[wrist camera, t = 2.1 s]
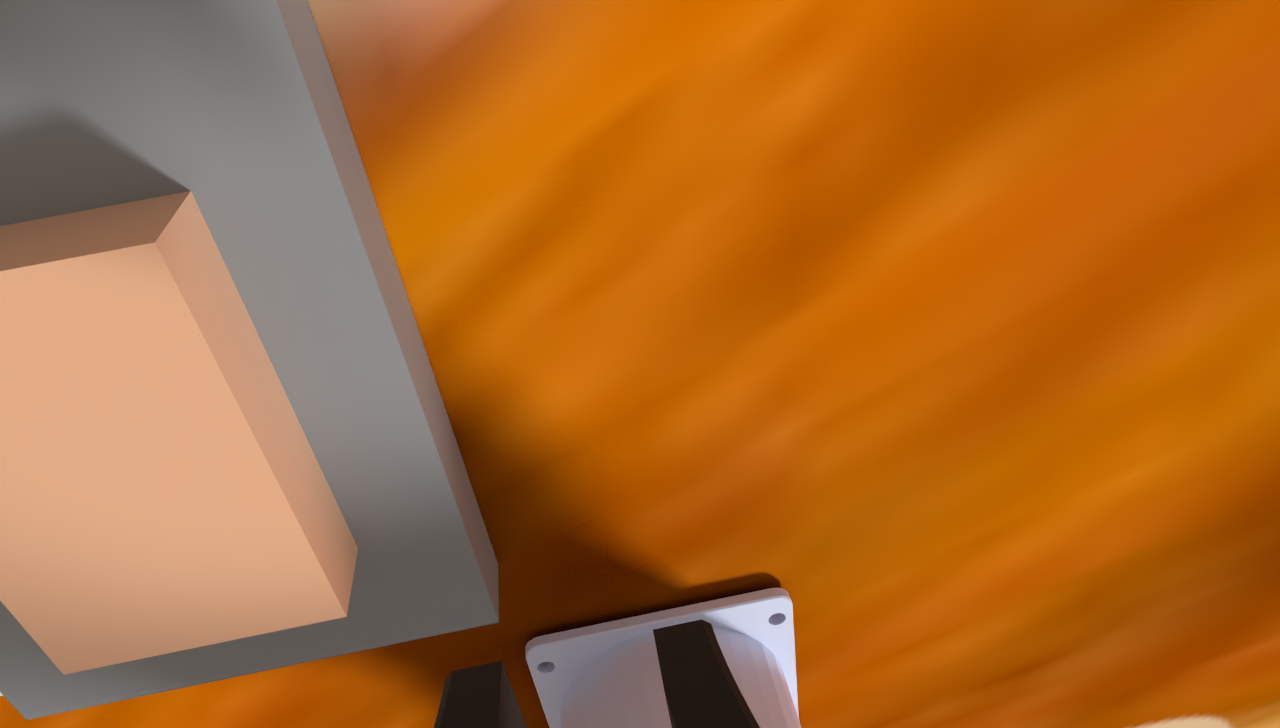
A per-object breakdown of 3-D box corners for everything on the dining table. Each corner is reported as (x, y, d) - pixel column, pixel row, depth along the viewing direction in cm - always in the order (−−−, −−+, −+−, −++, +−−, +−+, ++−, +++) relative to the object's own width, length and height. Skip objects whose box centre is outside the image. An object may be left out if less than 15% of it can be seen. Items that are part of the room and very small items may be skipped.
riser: (498, 564, 24) (498, 622, 22) (58, 653, 24) (26, 720, 22) (282, -74, 15) (257, -53, 13) (-446, 53, 14) (-566, 90, 13)
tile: (358, 548, 20) (346, 616, 19) (97, 600, 20) (63, 675, 18) (191, 191, 15) (155, 242, 14) (-163, 256, 15) (-242, 316, 13)
